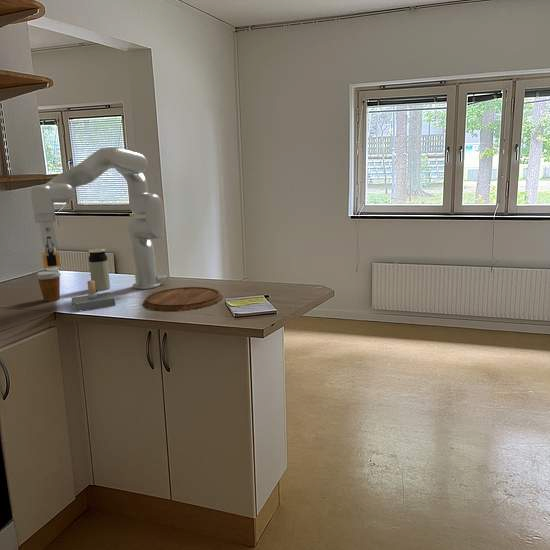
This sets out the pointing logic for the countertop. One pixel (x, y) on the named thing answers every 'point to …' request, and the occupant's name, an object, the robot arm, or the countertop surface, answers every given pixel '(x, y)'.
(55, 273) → the disposable coffee cup
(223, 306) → the countertop surface
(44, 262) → the tan cardboard carton
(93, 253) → the travel mug
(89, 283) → the block
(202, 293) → the cutting board
